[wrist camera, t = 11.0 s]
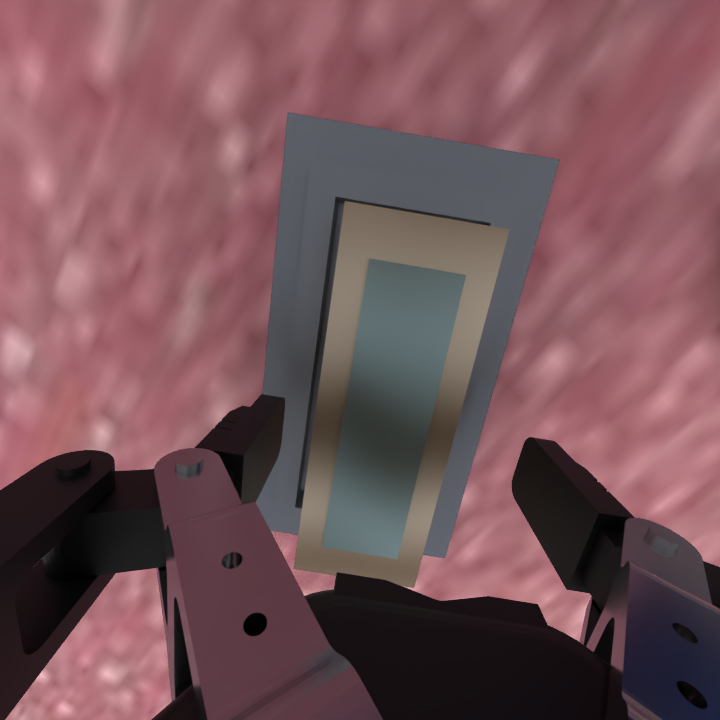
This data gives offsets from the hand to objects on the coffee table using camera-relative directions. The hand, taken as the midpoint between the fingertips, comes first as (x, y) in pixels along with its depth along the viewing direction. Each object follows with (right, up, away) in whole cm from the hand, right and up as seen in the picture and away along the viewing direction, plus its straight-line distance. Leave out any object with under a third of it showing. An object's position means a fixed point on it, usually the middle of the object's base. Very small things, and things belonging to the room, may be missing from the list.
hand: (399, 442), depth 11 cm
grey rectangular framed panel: (0, +2, +8) cm, 8 cm away
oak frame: (0, +2, +7) cm, 7 cm away
